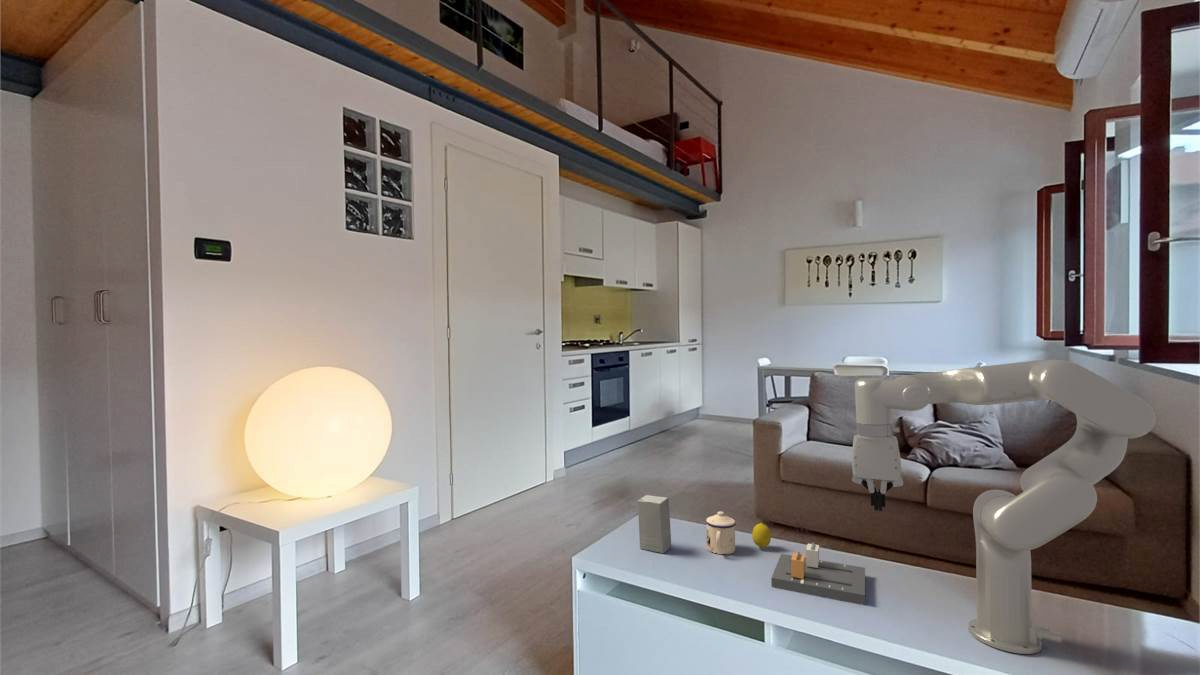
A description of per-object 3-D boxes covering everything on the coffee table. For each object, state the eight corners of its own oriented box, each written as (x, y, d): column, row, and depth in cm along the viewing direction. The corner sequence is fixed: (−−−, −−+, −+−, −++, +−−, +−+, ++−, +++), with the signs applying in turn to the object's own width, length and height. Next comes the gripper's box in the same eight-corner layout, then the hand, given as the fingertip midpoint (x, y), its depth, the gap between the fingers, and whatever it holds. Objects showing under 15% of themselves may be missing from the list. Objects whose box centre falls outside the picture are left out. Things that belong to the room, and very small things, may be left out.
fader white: (819, 561, 149) (819, 543, 150) (817, 567, 145) (817, 549, 145) (807, 559, 151) (807, 541, 151) (806, 565, 146) (806, 547, 146)
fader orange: (805, 571, 143) (805, 552, 143) (803, 578, 138) (803, 559, 138) (793, 569, 144) (793, 550, 144) (791, 576, 140) (791, 557, 140)
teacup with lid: (708, 542, 171) (707, 506, 171) (737, 546, 168) (736, 509, 168) (702, 556, 160) (702, 517, 160) (733, 560, 157) (733, 521, 157)
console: (865, 576, 146) (865, 567, 146) (864, 605, 130) (864, 594, 130) (781, 561, 156) (781, 553, 156) (771, 587, 140) (771, 577, 140)
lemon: (768, 545, 169) (768, 520, 169) (772, 552, 163) (772, 526, 163) (750, 544, 169) (750, 519, 169) (754, 551, 164) (754, 525, 164)
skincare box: (671, 547, 167) (671, 497, 167) (661, 555, 161) (661, 502, 161) (647, 542, 172) (647, 493, 172) (637, 549, 166) (637, 498, 166)
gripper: (910, 429, 125) (915, 508, 124) (841, 427, 132) (845, 501, 132) (911, 434, 118) (915, 517, 118) (838, 431, 126) (842, 510, 125)
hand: (878, 509), depth 125 cm, fingers closed
